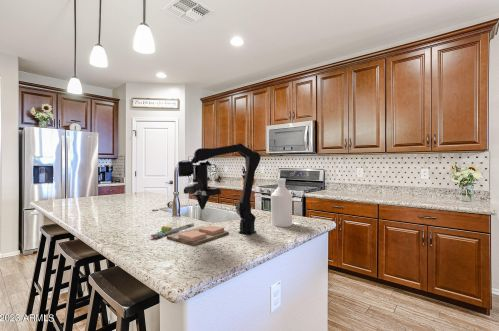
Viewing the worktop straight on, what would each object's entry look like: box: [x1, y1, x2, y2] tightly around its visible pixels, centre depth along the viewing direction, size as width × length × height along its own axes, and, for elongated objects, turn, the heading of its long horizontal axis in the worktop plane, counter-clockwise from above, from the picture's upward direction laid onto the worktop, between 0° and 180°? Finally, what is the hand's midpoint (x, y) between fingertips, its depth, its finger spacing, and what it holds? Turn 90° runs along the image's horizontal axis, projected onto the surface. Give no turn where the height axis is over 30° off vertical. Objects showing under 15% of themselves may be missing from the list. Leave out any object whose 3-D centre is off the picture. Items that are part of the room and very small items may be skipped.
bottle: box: [270, 178, 293, 228], centre depth 147 cm, size 12×12×25 cm
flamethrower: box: [150, 223, 195, 239], centre depth 133 cm, size 29×3×10 cm
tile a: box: [199, 225, 225, 235], centre depth 128 cm, size 2×8×9 cm
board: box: [166, 226, 230, 246], centre depth 124 cm, size 18×22×1 cm
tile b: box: [178, 230, 206, 241], centre depth 118 cm, size 2×8×9 cm
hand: (202, 209), depth 124 cm, fingers closed
